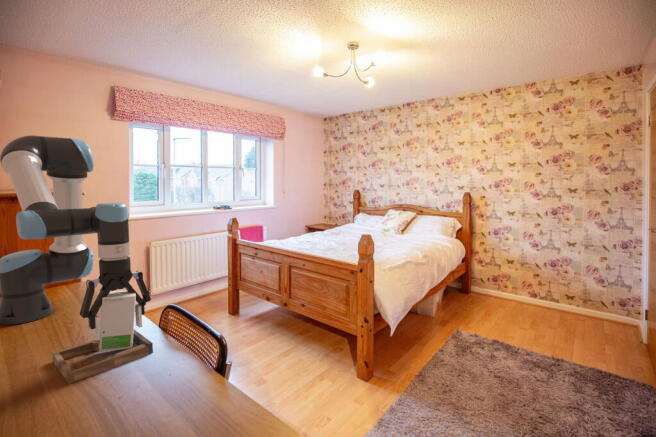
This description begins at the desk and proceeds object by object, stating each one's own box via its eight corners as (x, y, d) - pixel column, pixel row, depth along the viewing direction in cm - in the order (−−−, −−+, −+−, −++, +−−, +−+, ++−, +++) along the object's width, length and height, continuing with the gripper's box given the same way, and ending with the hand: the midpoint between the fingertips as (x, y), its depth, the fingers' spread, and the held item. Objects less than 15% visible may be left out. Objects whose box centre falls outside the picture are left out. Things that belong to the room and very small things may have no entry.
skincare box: (98, 352, 93) (100, 298, 91) (101, 342, 98) (103, 290, 97) (133, 348, 97) (135, 295, 95) (134, 338, 102) (136, 289, 101)
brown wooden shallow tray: (52, 361, 92) (52, 351, 92) (131, 336, 107) (131, 327, 107) (68, 384, 82) (67, 372, 82) (152, 352, 98) (152, 342, 97)
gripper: (69, 267, 83) (75, 351, 86) (161, 253, 101) (164, 323, 104) (60, 262, 88) (67, 341, 91) (150, 249, 106) (153, 316, 108)
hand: (118, 332), depth 97 cm, fingers closed on skincare box, 10 cm apart
